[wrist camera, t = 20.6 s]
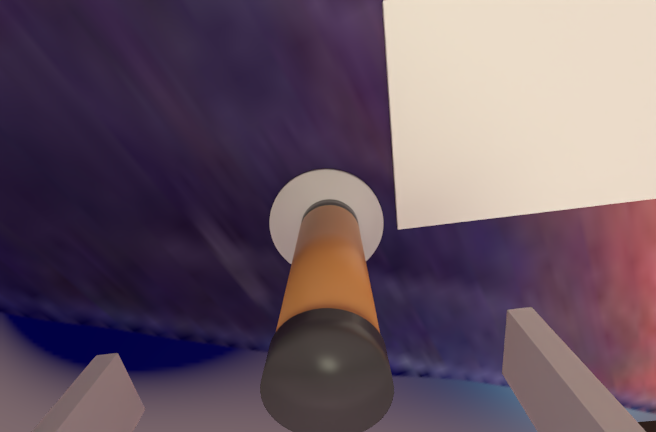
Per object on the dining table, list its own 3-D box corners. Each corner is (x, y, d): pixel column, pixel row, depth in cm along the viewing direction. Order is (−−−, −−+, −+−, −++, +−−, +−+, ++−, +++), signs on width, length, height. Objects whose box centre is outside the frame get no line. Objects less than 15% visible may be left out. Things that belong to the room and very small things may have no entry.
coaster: (282, 277, 25) (281, 281, 25) (260, 176, 22) (258, 178, 22) (386, 265, 25) (387, 269, 24) (377, 161, 22) (378, 162, 21)
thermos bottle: (304, 255, 24) (273, 443, 11) (295, 201, 22) (247, 346, 10) (362, 249, 23) (397, 434, 11) (356, 194, 22) (390, 334, 9)
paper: (397, 227, 23) (398, 229, 23) (382, 2, 18) (383, 0, 18) (690, 192, 22) (696, 193, 22) (759, -59, 17) (768, -62, 17)
